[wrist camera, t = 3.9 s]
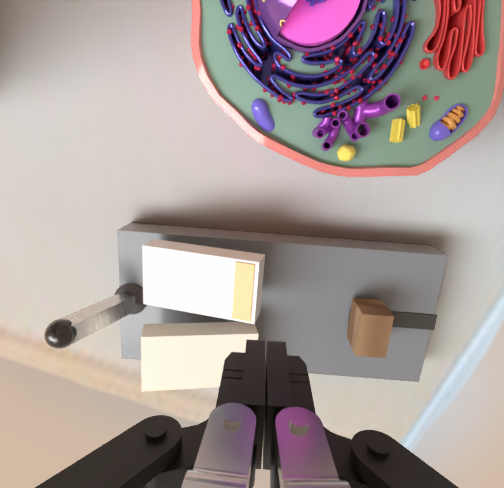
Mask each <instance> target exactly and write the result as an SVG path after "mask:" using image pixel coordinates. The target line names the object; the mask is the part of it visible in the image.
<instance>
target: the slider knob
mask: <svg viewBox="0 0 504 488" xmlns="http://www.w3.org/2000/svg"><path fill="white" fill-rule="evenodd" d="M393 319H394V316H393V315H392V313H391V312H390V311H389V309H388V308H387V307H386V305H385V304H384V303H383V301H382V300H376V299H363V298H353V299H352V305H351V311H350V318H349V324H348V330H347V338H348V340H349V343H350V345H351V347H352V349H353V352H354V354H355V356H365V357H378V358H386V355H387V350H388V344H389V339H390V334H391V329H392V324H393Z"/></svg>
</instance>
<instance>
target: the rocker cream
mask: <svg viewBox="0 0 504 488" xmlns="http://www.w3.org/2000/svg"><path fill="white" fill-rule="evenodd" d="M247 339H249V340H258V331H257V328H256V326H255V324H250V323H245V322H209V323H167V324H144V325H143V330H142V335H141V373H142V391H159V390H176V389H193V388H210V387H220V382H221V378H222V372H223V366H224V361H225V359H226V358H227V357H228V355H229V354H230V353H231V352H242V353H245V350H246V340H247Z"/></svg>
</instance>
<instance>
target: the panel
mask: <svg viewBox="0 0 504 488" xmlns="http://www.w3.org/2000/svg"><path fill="white" fill-rule="evenodd" d="M155 239H158V240H165V241H172V242H180V243H187V244H194V245H201V246H208V247H215V248H223V249H230V250H237V251H244V252H251V253H258V254H265V262H264V274H263V285H262V297H261V309H260V314H259V316H258V318H257V320H256V322H255V326H256V328H257V331H258V340H265V356H266V342H267V341H283V342H286V349H287V355H291V356H300V358H301V359H302V360H303V361H304V362H305V364H306V365H307V371H308V373H313V374H326V375H339V376H351V377H364V378H377V379H389V380H402V381H415V382H419V379H420V375H421V370H422V366H423V362H424V357H425V353H426V349H427V344H428V340H429V336H430V331H431V330H434V327H435V323H436V318H437V315H434V314H435V309H436V305H437V301H438V296H439V292H440V288H441V283H442V279H443V275H444V270H445V266H446V262H447V257H448V255H446V254H445V253H443V252H441V251H440V250H438V249H436V248H435V247H433V246H431V245H419V244H406V243H393V242H380V241H366V240H353V239H340V238H327V237H314V236H300V235H287V234H274V233H261V232H248V231H235V230H221V229H208V228H195V227H182V226H169V225H155V224H142V223H129V224H128V225H126V226H124V227H123V228H121V229H119V230H118V255H119V286H120V287H119V288H118V289H117V291H116V292H115V295H117V294H119V293H121V292H124V293H127V294H130V295H133V296H135V312H133V313H131V314H129V315H127V316H125V317H123V318H121V349H122V358H123V359H136V360H141V335H142V330H143V325H144V324H167V323H209V322H239V321H234V320H228V319H223V318H217V317H212V316H206V315H201V314H195V313H190V312H184V311H179V310H173V309H168V308H162V307H157V306H152V305H146V304H143V250H142V245H144V244H146V243H148V242H151V241H153V240H155ZM353 298H363V299H376V300H382V301H383V303H384V304H385V305H386V307H387V308H388V309H389V311H390V312H391V313H392V315H393V316H394V319H393V324H392V329H391V334H390V339H389V344H388V350H387V355H386V358H378V357H365V356H355V354H354V352H353V349H352V347H351V345H350V343H349V340H348V338H347V330H348V324H349V318H350V311H351V305H352V299H353Z"/></svg>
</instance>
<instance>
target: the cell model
mask: <svg viewBox="0 0 504 488" xmlns="http://www.w3.org/2000/svg"><path fill="white" fill-rule="evenodd" d="M191 47H192V54H193V59H194V62H195V66H196V69H197V72H198V75H199V77H200V79H201V81H202V83H203V85H204V87H205V89H206V90H207V92H208V93H209V95H210V96H211V98H212V99H213V101H214V102H215V103H216V104H218V105H219V106H220V107H221V108H222V109H223V110H224V111H225V112H226V113H227V114H228V115H229V116H230V117H231V118H232V119H233V120H234V121H235V122H236V123H237V124H238V125H239V126H240V127H241V128H242V129H243V130H244V131H245V132H246V133H247V134H248V135H249V136H250V137H251V138H253V139H254V140H256V141H257V142H259V143H260V144H262V145H264V146H266V147H268V148H270V149H272V150H274V151H276V152H278V153H280V154H282V155H284V156H286V157H288V158H290V159H292V160H294V161H297V162H299V163H301V164H303V165H305V166H306V167H309V168H312V169H314V170H317V171H321V172H325V173H329V174H333V175H338V176H347V177H374V176H410V175H418V174H421V173H423V172H426V171H428V170H430V169H431V168H433V167H434V166H436V165H437V164H439V163H440V162H442V161H443V160H445V159H446V158H447V157H449V156H450V155H451V154H453V153H454V152H455V151H457V150H458V149H459V148H461V147H462V146H463V145H465V144H466V143H467V142H469V141H470V140H471V139H473V138H474V137H475V136H477V135H478V134H479V133H480V132H481V131H482V129H483V128H484V127H485V126H486V125H487V124H488V122H489V121H490V120H491V119H492V118H493V117H494V115H495V113H496V110H497V108H498V106H499V104H500V102H501V98H502V93H503V89H504V0H192V30H191Z"/></svg>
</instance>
